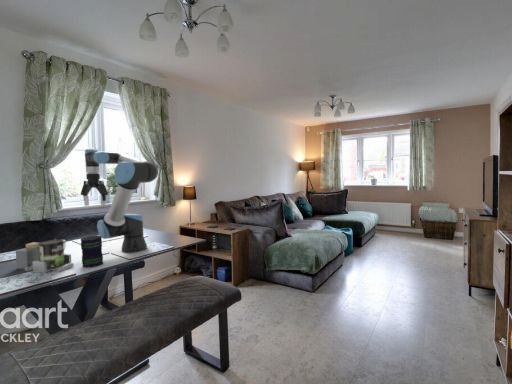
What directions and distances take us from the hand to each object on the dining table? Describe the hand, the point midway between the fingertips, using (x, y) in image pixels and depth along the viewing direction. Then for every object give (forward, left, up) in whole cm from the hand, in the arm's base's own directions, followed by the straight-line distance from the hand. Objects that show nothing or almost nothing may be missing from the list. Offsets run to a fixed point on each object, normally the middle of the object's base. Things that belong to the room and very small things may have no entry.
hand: (95, 205), depth 178 cm
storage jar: (-24, +26, -29) cm, 46 cm away
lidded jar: (+17, +15, -29) cm, 37 cm away
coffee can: (-7, +35, -29) cm, 46 cm away
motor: (-2, +35, -29) cm, 45 cm away
